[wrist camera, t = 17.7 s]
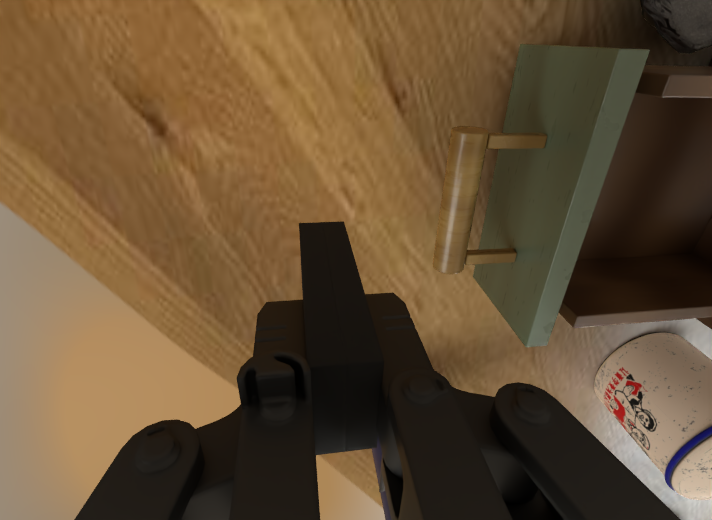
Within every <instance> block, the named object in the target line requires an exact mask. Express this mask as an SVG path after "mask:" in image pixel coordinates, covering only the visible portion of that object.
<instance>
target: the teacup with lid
mask: <svg viewBox="0 0 712 520" xmlns="http://www.w3.org/2000/svg"><path fill="white" fill-rule="evenodd" d="M594 389H595V392H596V395H597V396H598V398H599V399H600V400H601V401H602V403H603V404H604V405H605V406H606V407H607V409H608V410H609V411H610V412H611V413H612V414H613V416H614V417H615V418H616V419H617V420H618V422H619V423H620V424H621V425H622V426H623V427H624V429H625V430H626V431H627V432H628V433H629V435H630V436H631V437H632V438H633V439H634V440H635V442H636V443H637V444H638V445H639V446H640V448H641V449H642V450H643V451H644V452H645V453H646V455H647V456H648V457H649V458H650V459H651V461H652V462H653V463H654V464H655V465H656V467H657V468H658V469H659V470H660V471H661V472H662V474H663V475H664V476H665V481H666V483H667V485H668V486H669V487H670V488H671V489H672V490H674V491H676V492H677V493H678V494H680V495H682V496H684V497H686V498H689V499H694V500H709V499H712V360H711V359H709V358H708V357H707V356H706V355H704V354H703V353H702V352H700V351H699V350H698V349H697V348H695V347H694V346H693V345H691V344H690V343H689V342H688V341H686V340H685V339H684V338H682V337H680V336H678V335H676V334H672V333H653V334H648V335H645V336H642V337H639V338H636V339H634V340H632V341H630V342H628V343H626V344H625V345H623V346H622V347H620V348H619V349H617V350H616V351H615V352H614V353H612V354H611V355H610V356H609V357H608V358H607V359H606V360H605V362H604V363H603V364H602V366H601V367H600V369H599V370H598V372H597V374H596V377H595V382H594Z"/></svg>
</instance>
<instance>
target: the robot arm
mask: <svg viewBox="0 0 712 520" xmlns="http://www.w3.org/2000/svg"><path fill="white" fill-rule="evenodd" d="M299 231H300V250H301V270H302V290H303V300H292V301H276V302H266V304H265V305H264V306H263V308H262V309H261V310H260V312H259V313H258V315H257V325H256V334H255V343H254V353H253V357H252V358H250V359H249V360H248V361H247V362H246V363H245V364H244V365H243V366H242V367H241V368H240V371H239V373H238V376H237V383H238V389H239V394H240V400H241V405H240V406H239V407H238V408H237V409H236V410H235V411H233V412H232V413H231V414H229V415H228V416H226V417H224V418H222V419H220V420H218V421H215V422H213V423H210V424H207V425H205V426H202V427H199V428H197V429H195V428H194V427H192V425H191V424H189V423H187V422H184V421H180V420H164V421H160V422H158V423H155V424H152V425H149V426H147V427H145V428H144V429H142V430H141V431H140V432H138V433H136V434H135V435H133V436H132V437H131V439H130V440H129V441H128V442H127V443H126V444H125V445H124V446H123V447H122V449H121V450H120V452H119V453H118V455H117V456H116V458H115V459H114V461H113V462H112V464H111V465H110V467H109V468H108V470H107V471H106V473H105V474H104V476H103V477H102V479H101V480H100V482H99V483H98V485H97V486H96V488H95V489H94V491H93V492H92V494H91V496H90V497H89V499H88V500H87V502H86V503H85V505H84V506H83V508H82V509H81V511H80V512H79V514H78V515H77V517H76V518H75V520H320V512H319V499H318V482H317V469H316V455H321V454H329V453H337V452H345V451H354V450H362V449H370V448H377V441H378V437H379V442H380V446H381V451H382V460H381V471H380V481H379V492H384V490H385V492H386V496H387V501H388V506H389V511H390V516H391V520H680V519H679V518H678V517H677V516H676V515H675V514H674V513H673V512H672V511H671V510H670V509H669V508H668V507H667V506H666V505H665V504H664V503H663V502H662V501H661V500H660V499H659V498H658V497H657V496H656V495H655V494H654V493H653V492H652V491H650V490H649V489H648V488H647V487H646V486H645V485H644V484H643V483H642V482H641V481H640V480H639V479H638V478H637V477H636V476H635V475H634V474H633V473H632V472H631V471H630V470H629V469H628V468H627V467H626V466H625V465H624V464H623V463H622V462H621V461H619V460H618V459H617V458H616V457H615V456H614V455H613V454H612V453H611V452H610V451H609V450H608V449H607V448H606V447H605V446H604V445H603V444H602V443H601V442H600V441H599V440H598V439H597V438H596V437H595V436H594V435H593V434H592V433H591V432H590V431H588V430H587V429H586V428H585V427H584V426H583V425H582V424H581V423H580V422H579V421H578V420H577V419H576V418H575V417H574V416H573V415H572V414H571V413H570V412H569V411H568V410H567V409H566V408H565V407H564V406H563V405H562V404H561V403H560V402H559V401H557V400H556V399H555V398H554V397H553V396H551V395H550V394H549V393H547V392H546V391H545V390H542V389H540V388H538V387H536V386H533V385H530V384H524V383H511V384H506V385H505V386H503V387H501V388H500V389H499V390H498V392H497V394H496V396H495V397H491V396H485V395H479V394H474V393H468V392H465V391H461V390H458V389H456V388H454V387H452V386H451V385H450V383H449V382H448V381H447V379H446V378H445V377H443V376H442V375H441V374H439V373H438V372H436V371H434V369H433V368H432V365H431V363H430V361H429V358H428V356H427V354H426V351H425V349H424V347H423V344H422V342H421V339H420V337H419V335H418V332H417V330H416V329H415V325H414V323H413V321H412V318H410V314H409V311H408V309H407V307H406V304H405V303H404V302H403V301H402V300H401V299H400V298H399V297H398V296H396V295H395V294H394V293H380V294H365V293H364V290H363V286H362V283H361V279H360V276H359V272H358V269H357V265H356V262H355V259H354V255H353V252H352V248H351V245H350V241H349V238H348V234H347V231H346V228H345V224H344V222H319V223H299Z"/></svg>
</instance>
